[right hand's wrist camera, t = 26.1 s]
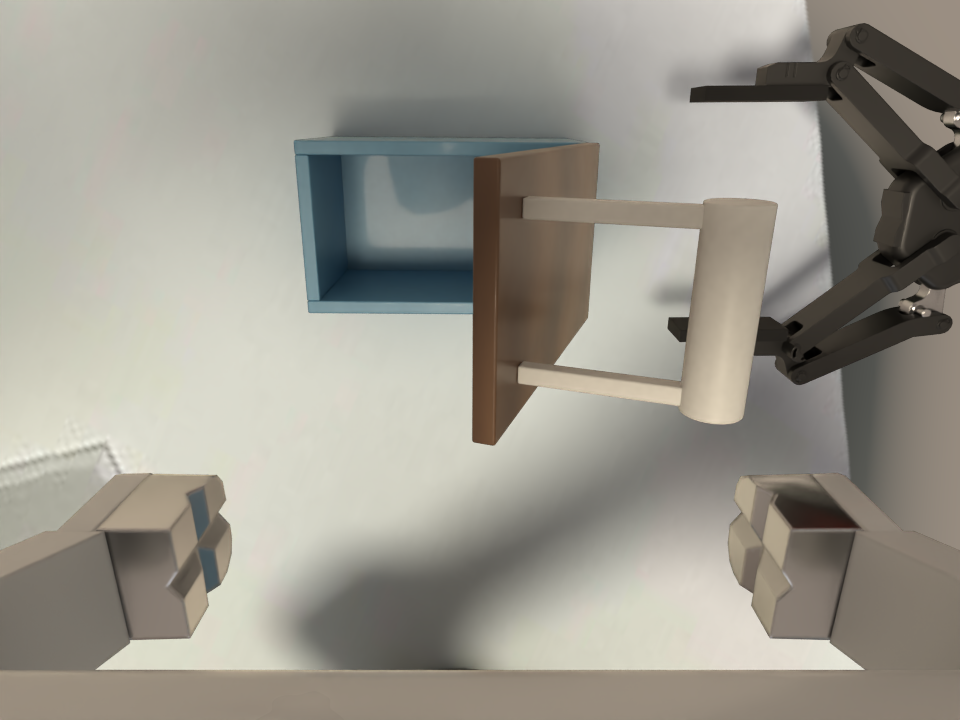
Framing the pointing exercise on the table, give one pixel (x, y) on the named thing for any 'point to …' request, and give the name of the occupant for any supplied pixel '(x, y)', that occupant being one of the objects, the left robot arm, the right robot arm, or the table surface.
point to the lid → (566, 287)
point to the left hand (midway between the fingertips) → (684, 219)
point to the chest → (392, 220)
